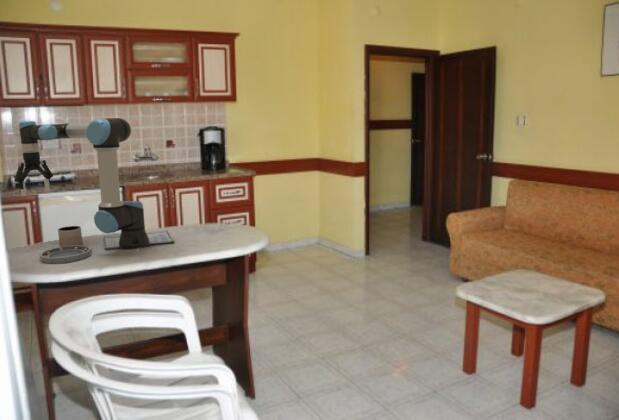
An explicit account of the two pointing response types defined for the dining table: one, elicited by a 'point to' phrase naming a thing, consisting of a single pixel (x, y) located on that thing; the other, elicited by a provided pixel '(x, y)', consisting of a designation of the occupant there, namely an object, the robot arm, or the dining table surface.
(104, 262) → the dining table surface
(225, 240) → the dining table surface
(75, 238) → the planter
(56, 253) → the tray
